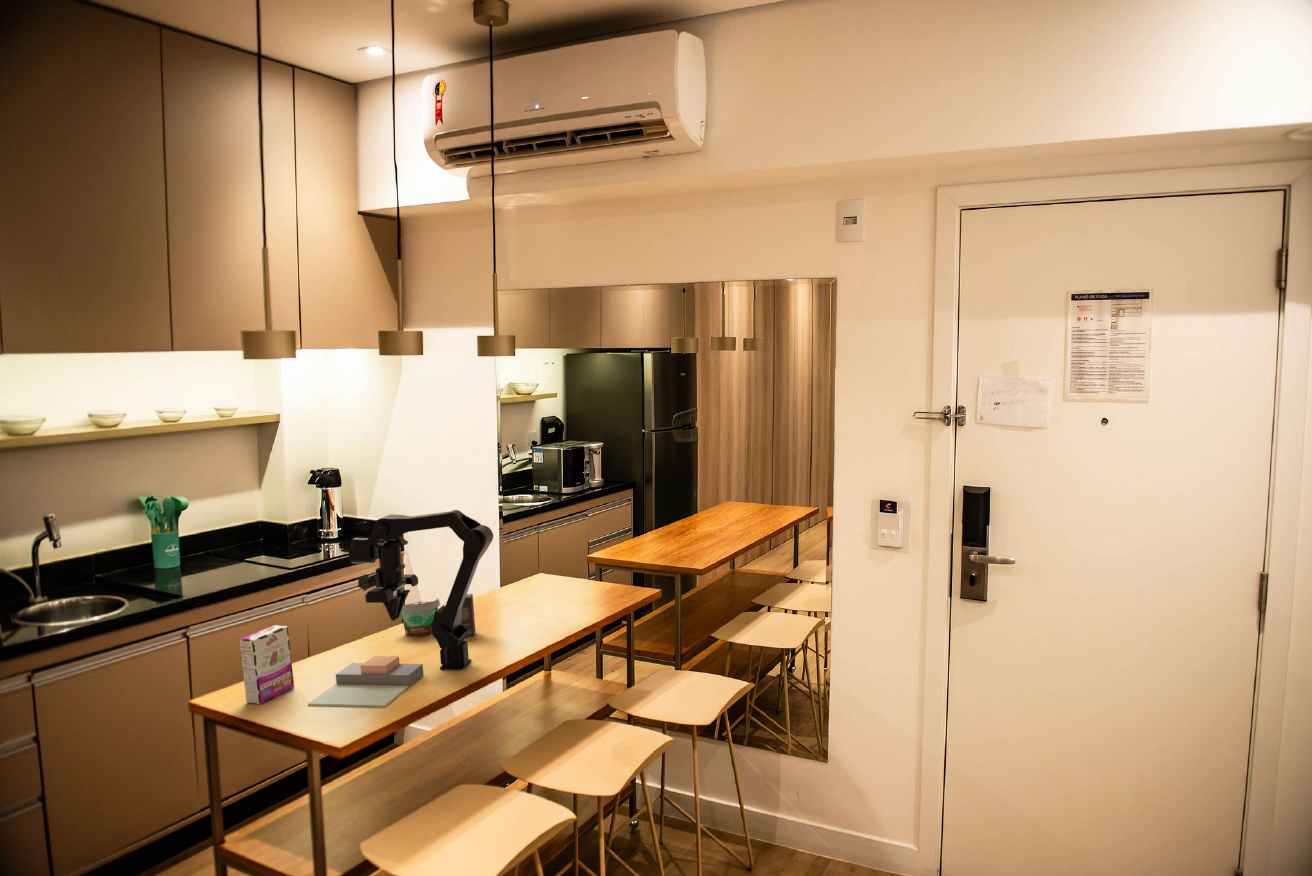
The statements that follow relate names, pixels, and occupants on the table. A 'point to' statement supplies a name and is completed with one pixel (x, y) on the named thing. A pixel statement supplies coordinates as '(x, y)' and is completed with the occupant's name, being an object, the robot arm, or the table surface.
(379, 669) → the coaster
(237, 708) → the table surface
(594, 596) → the table surface
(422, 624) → the food container
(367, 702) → the mat
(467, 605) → the box
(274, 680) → the candy bar box
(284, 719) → the table surface
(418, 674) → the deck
